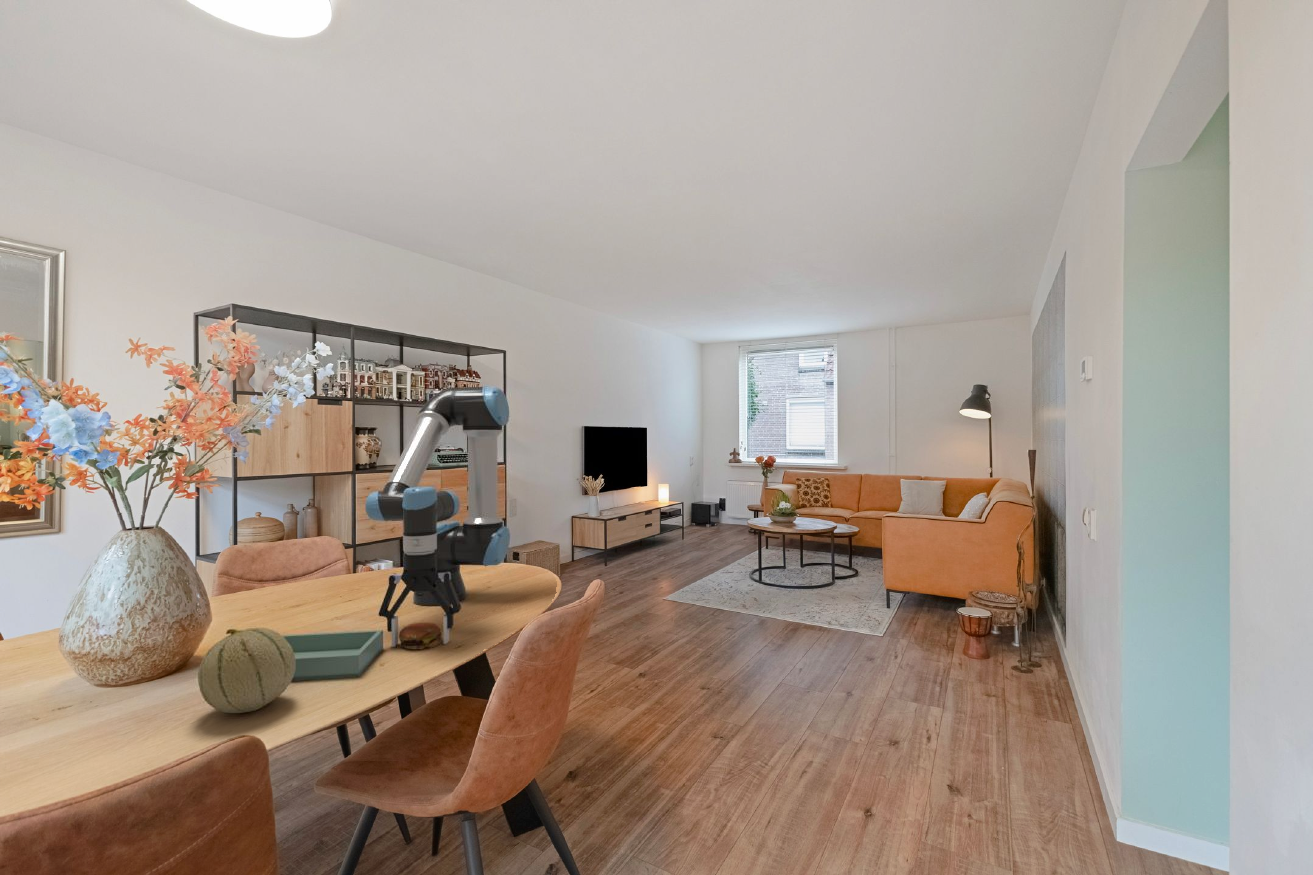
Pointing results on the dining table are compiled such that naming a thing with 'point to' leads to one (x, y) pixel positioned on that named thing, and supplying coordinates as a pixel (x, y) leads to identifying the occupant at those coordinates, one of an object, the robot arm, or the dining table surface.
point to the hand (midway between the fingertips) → (420, 643)
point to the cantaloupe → (246, 670)
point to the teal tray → (334, 653)
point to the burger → (420, 636)
